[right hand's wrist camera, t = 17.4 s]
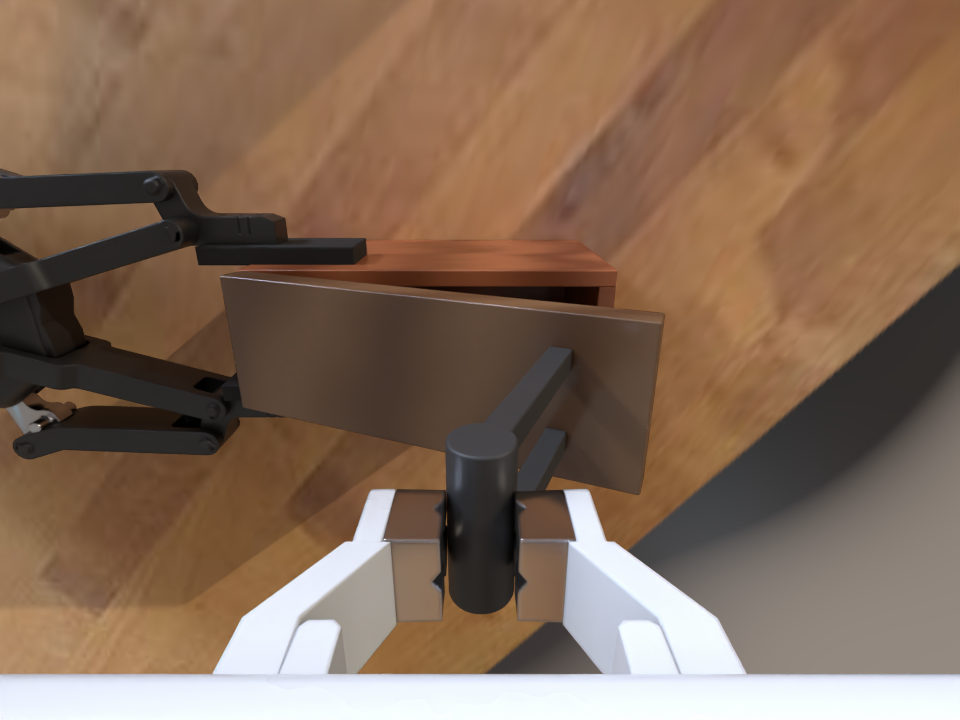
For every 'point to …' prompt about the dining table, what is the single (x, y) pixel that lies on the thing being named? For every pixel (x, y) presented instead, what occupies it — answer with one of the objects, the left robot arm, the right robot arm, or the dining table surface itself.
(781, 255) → the dining table surface
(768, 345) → the dining table surface
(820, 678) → the right robot arm
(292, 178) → the dining table surface
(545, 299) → the chest
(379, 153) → the dining table surface
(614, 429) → the lid
